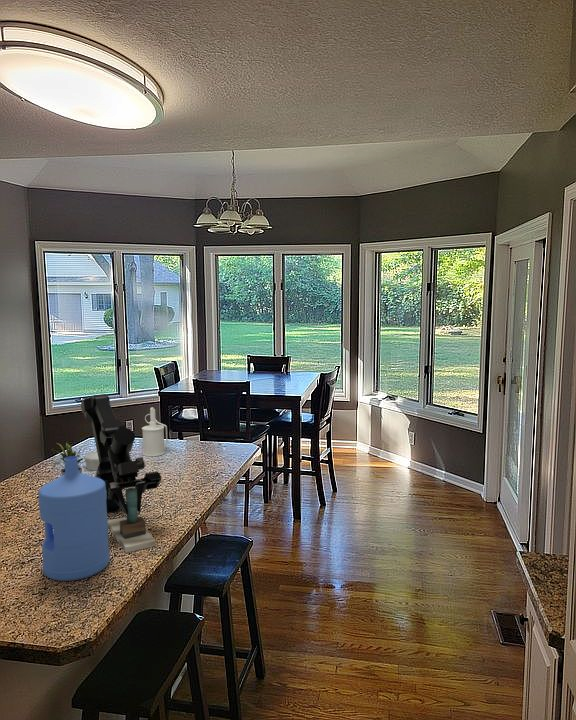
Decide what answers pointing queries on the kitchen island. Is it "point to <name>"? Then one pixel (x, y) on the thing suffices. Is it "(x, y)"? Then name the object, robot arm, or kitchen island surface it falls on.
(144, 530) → the teal brown tall piece
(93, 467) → the ramekin
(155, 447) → the white oil can
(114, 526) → the off-white shallow tray
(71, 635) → the kitchen island surface
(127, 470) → the robot arm
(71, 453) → the house plant
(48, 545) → the water jug
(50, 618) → the kitchen island surface
